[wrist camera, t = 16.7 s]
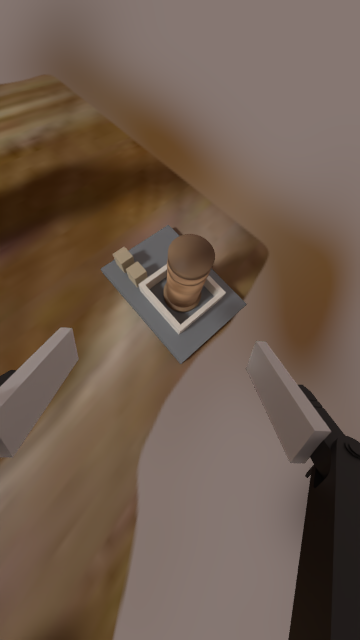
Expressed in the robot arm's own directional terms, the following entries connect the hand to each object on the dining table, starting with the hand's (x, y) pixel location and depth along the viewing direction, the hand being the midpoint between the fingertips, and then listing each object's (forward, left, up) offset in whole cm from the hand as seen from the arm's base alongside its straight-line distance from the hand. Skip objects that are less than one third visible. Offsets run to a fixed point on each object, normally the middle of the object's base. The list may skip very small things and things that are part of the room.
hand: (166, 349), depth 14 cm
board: (-9, +10, -18) cm, 23 cm away
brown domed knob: (-7, +10, -17) cm, 21 cm away
